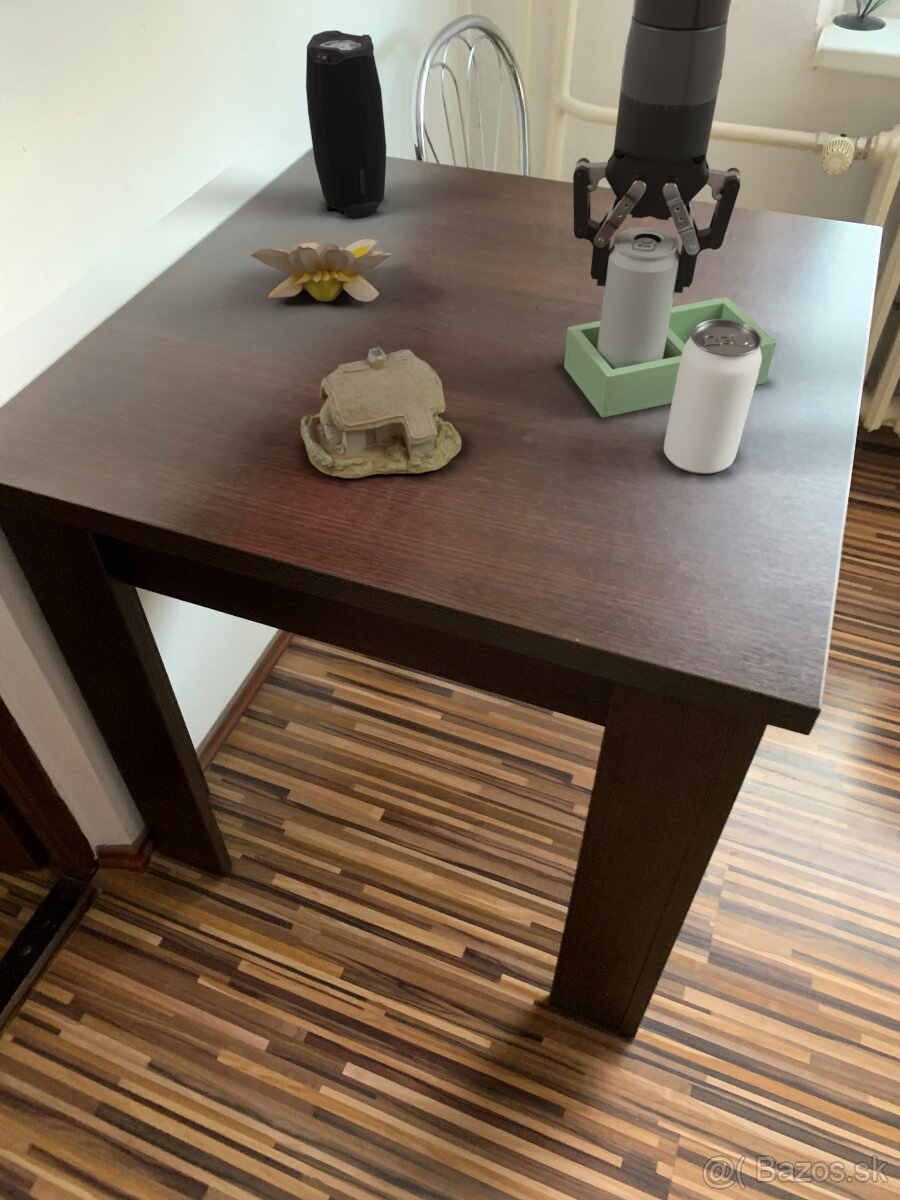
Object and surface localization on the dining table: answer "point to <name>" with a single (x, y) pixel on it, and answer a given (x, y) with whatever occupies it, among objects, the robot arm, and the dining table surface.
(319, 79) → the portable speaker
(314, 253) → the decorative flower
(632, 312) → the beverage can
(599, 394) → the cup holder
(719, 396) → the can
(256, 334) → the dining table surface
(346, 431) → the ceramic model
